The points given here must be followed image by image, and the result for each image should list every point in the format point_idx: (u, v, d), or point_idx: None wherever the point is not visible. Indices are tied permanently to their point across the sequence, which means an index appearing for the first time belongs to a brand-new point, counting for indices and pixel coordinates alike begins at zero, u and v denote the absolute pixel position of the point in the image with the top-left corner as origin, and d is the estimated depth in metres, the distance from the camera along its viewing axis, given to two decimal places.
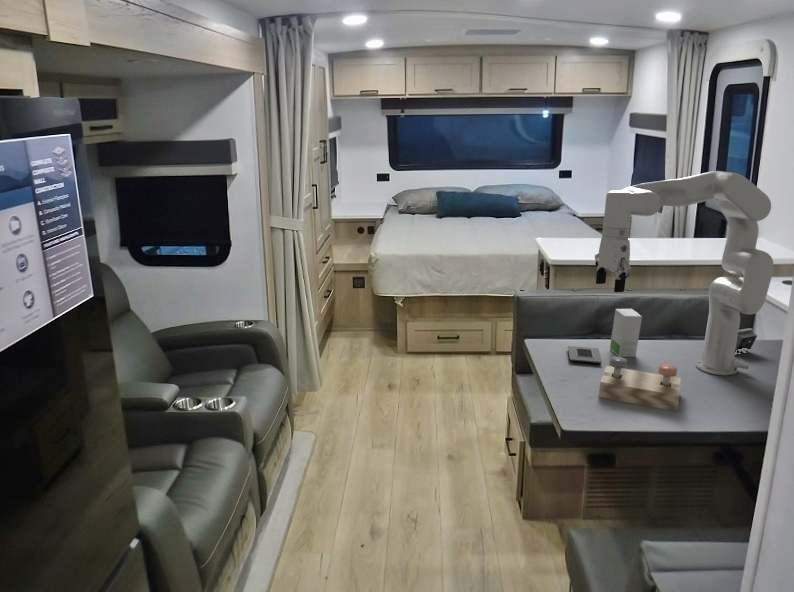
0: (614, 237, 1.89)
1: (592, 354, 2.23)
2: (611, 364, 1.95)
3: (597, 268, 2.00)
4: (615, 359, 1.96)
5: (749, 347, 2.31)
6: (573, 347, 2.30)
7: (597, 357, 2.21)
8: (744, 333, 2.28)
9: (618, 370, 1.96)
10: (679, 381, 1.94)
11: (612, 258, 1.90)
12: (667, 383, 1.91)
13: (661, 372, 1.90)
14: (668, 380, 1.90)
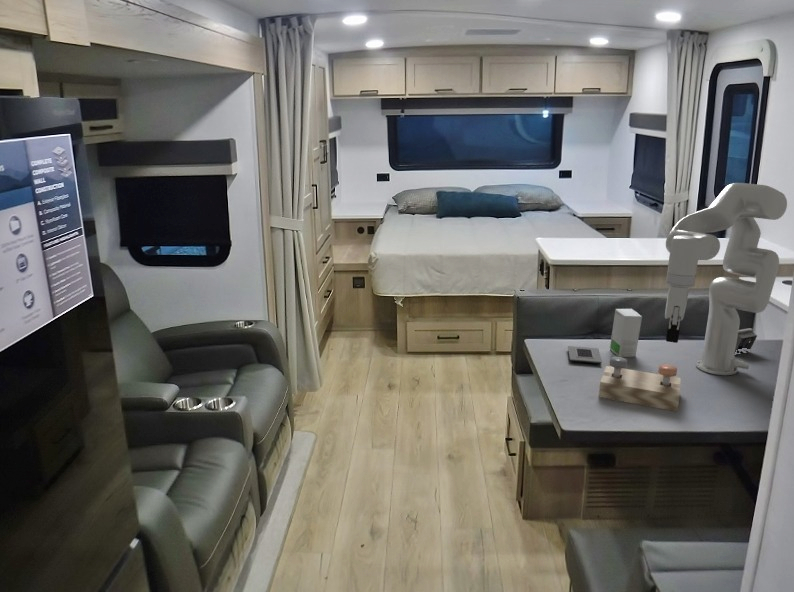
0: None
1: (592, 354, 2.23)
2: (611, 364, 1.95)
3: (678, 327, 1.84)
4: (615, 359, 1.96)
5: (749, 347, 2.31)
6: (573, 347, 2.30)
7: (597, 357, 2.21)
8: (744, 333, 2.28)
9: (618, 370, 1.96)
10: (679, 381, 1.94)
11: None
12: (667, 383, 1.91)
13: (661, 372, 1.90)
14: (668, 380, 1.90)
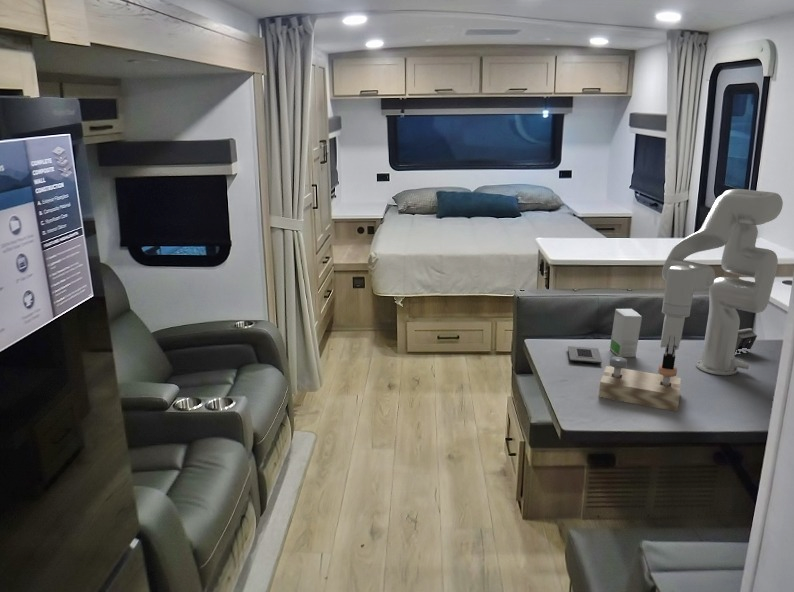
0: None
1: (592, 354, 2.23)
2: (611, 364, 1.95)
3: (674, 354, 1.87)
4: (615, 359, 1.96)
5: (749, 347, 2.31)
6: (573, 347, 2.30)
7: (597, 357, 2.21)
8: (744, 333, 2.28)
9: (618, 370, 1.96)
10: (679, 381, 1.94)
11: None
12: (667, 383, 1.91)
13: (661, 372, 1.90)
14: (668, 380, 1.90)
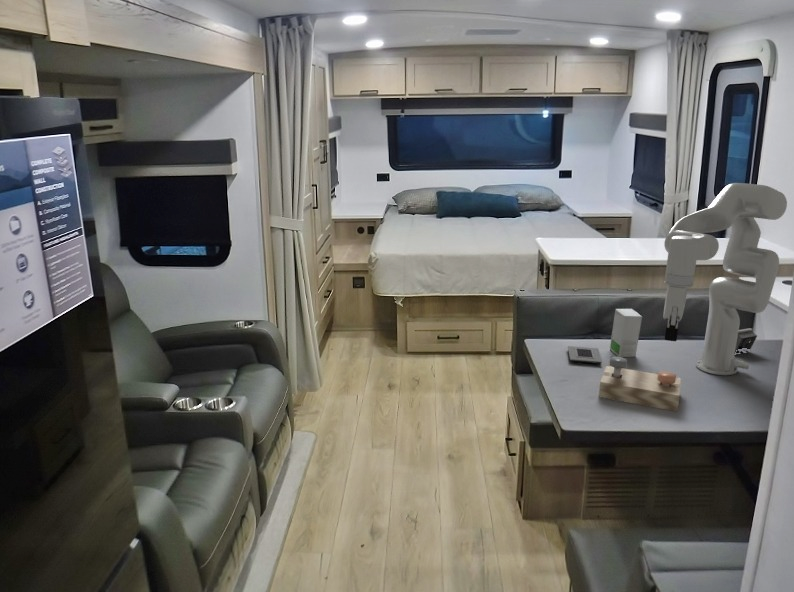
0: None
1: (592, 354, 2.23)
2: (611, 364, 1.95)
3: None
4: (615, 359, 1.96)
5: (749, 347, 2.31)
6: (573, 347, 2.30)
7: (597, 357, 2.21)
8: (744, 333, 2.28)
9: (618, 370, 1.96)
10: (679, 381, 1.94)
11: None
12: None
13: (660, 379, 1.90)
14: None
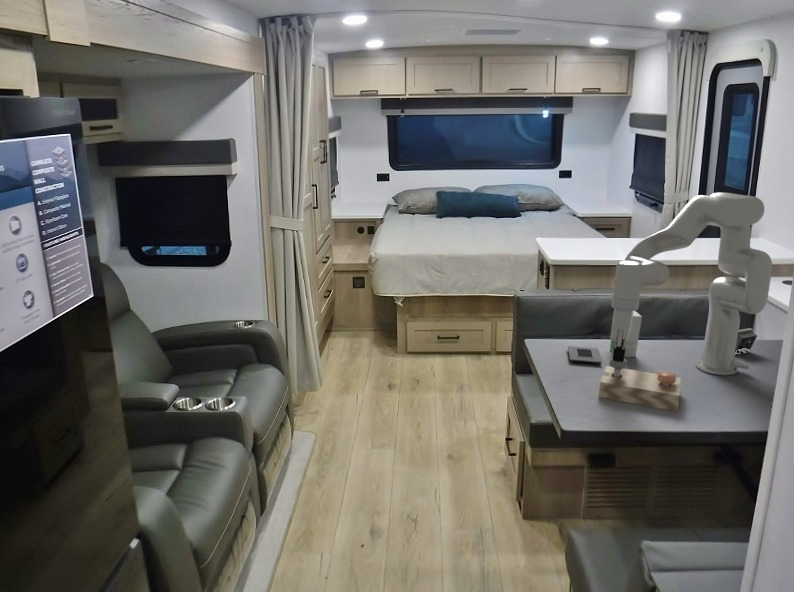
0: None
1: (592, 354, 2.23)
2: (611, 364, 1.95)
3: (624, 347, 1.93)
4: None
5: (749, 347, 2.31)
6: (573, 347, 2.30)
7: (597, 357, 2.21)
8: (744, 333, 2.28)
9: (617, 370, 1.96)
10: (679, 381, 1.94)
11: None
12: None
13: (660, 379, 1.90)
14: None
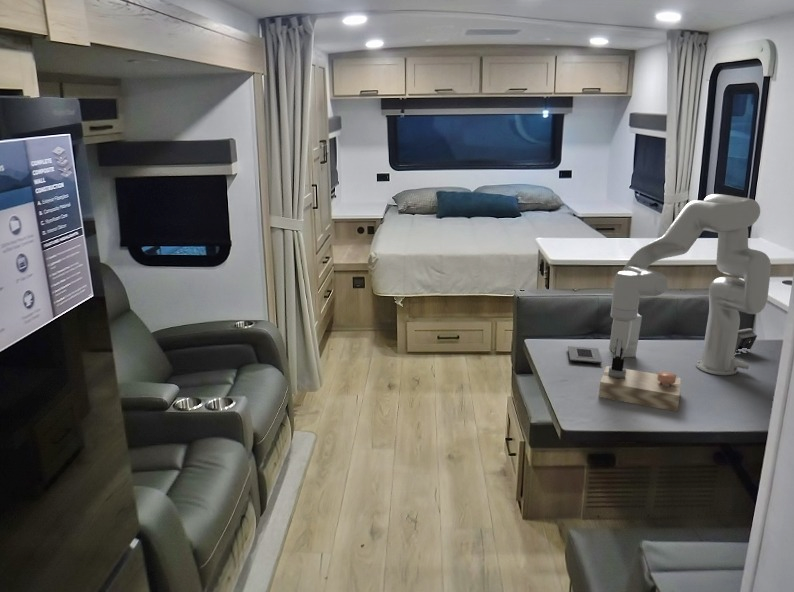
0: None
1: (592, 354, 2.23)
2: (610, 374, 1.96)
3: (622, 356, 1.94)
4: None
5: (749, 347, 2.31)
6: (573, 347, 2.30)
7: (597, 357, 2.21)
8: (744, 333, 2.28)
9: None
10: (679, 381, 1.94)
11: None
12: None
13: (660, 379, 1.90)
14: None
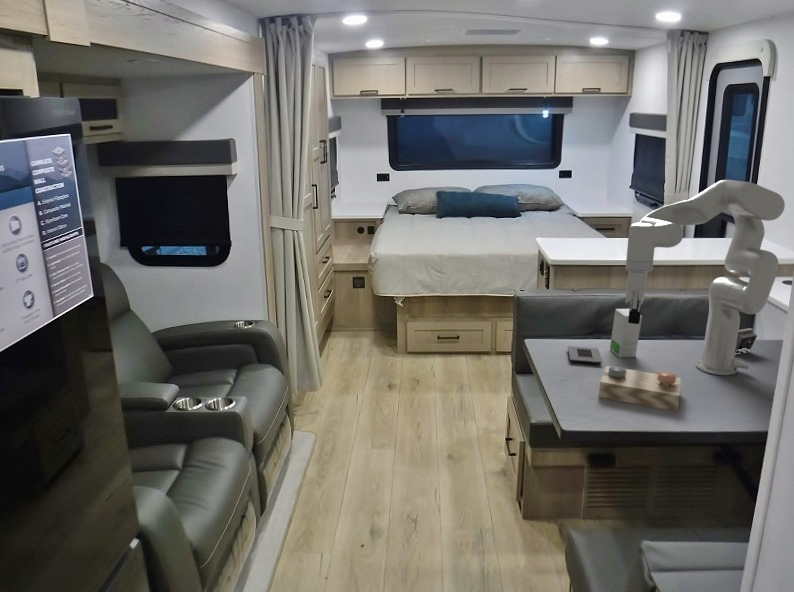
0: None
1: (592, 354, 2.23)
2: (610, 374, 1.96)
3: None
4: (614, 369, 1.97)
5: (749, 347, 2.31)
6: (573, 347, 2.30)
7: (597, 357, 2.21)
8: (744, 333, 2.28)
9: None
10: (679, 381, 1.94)
11: None
12: None
13: (660, 379, 1.90)
14: None
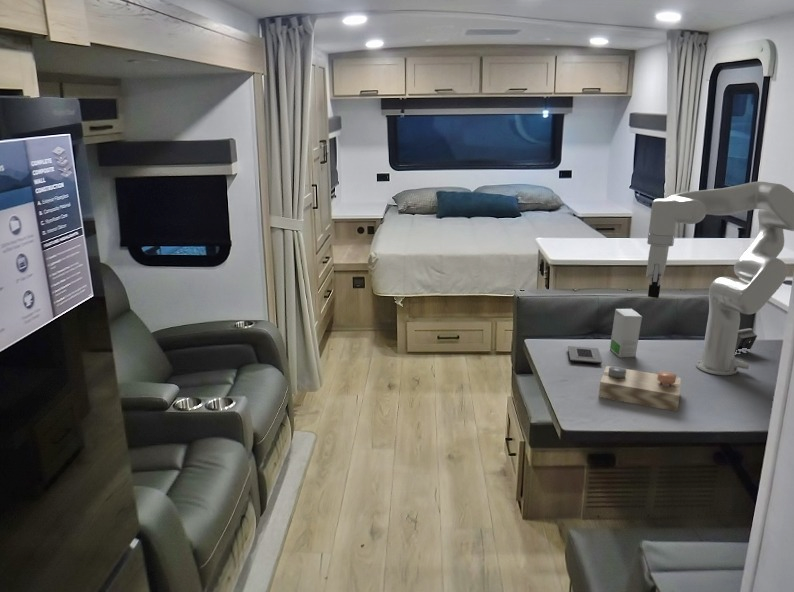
0: None
1: (592, 354, 2.23)
2: (610, 374, 1.96)
3: None
4: (614, 369, 1.97)
5: (749, 347, 2.31)
6: (573, 347, 2.30)
7: (597, 357, 2.21)
8: (744, 333, 2.28)
9: None
10: (679, 381, 1.94)
11: None
12: None
13: (660, 379, 1.90)
14: None
